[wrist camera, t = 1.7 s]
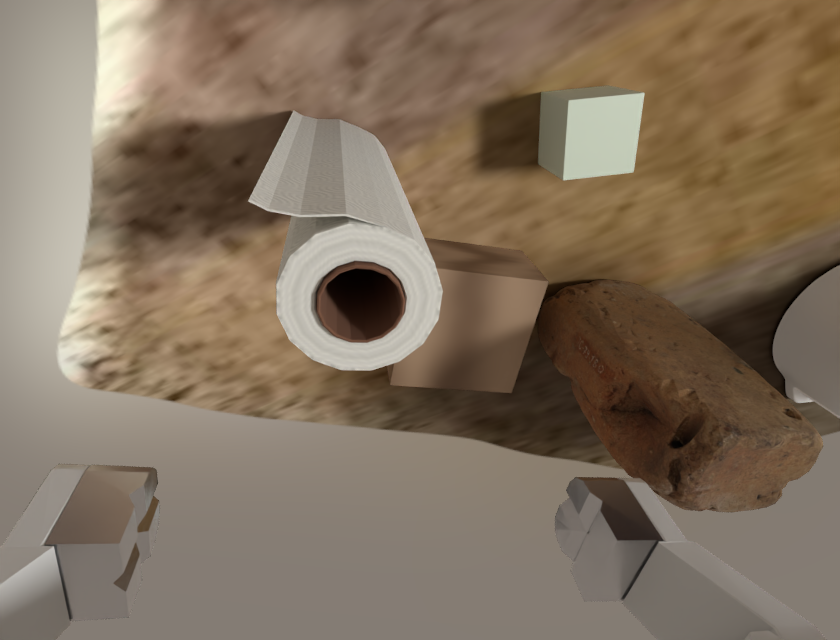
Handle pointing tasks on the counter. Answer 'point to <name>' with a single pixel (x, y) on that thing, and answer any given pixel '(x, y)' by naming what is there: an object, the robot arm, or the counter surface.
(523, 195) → the counter surface
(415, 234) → the paper towel roll
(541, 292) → the walnut block
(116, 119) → the counter surface
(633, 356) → the block
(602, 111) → the green cube
